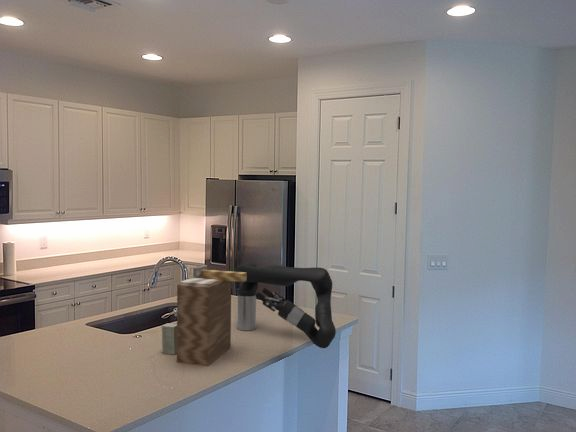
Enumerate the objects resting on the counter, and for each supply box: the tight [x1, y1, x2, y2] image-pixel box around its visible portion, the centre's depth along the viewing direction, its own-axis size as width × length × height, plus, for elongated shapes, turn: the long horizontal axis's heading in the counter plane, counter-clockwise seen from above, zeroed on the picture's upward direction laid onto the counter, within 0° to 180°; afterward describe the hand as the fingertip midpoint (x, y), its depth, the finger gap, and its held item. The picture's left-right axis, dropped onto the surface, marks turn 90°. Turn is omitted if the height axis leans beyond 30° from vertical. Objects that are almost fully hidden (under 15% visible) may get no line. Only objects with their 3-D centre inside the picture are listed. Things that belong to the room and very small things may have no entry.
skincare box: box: [161, 322, 177, 355], centre depth 222 cm, size 6×4×12 cm
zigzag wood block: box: [176, 277, 232, 367], centre depth 219 cm, size 14×24×33 cm, turn 165°
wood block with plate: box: [192, 264, 247, 283], centre depth 221 cm, size 22×9×5 cm, turn 75°
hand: (260, 291), depth 217 cm, fingers open, 8 cm apart
